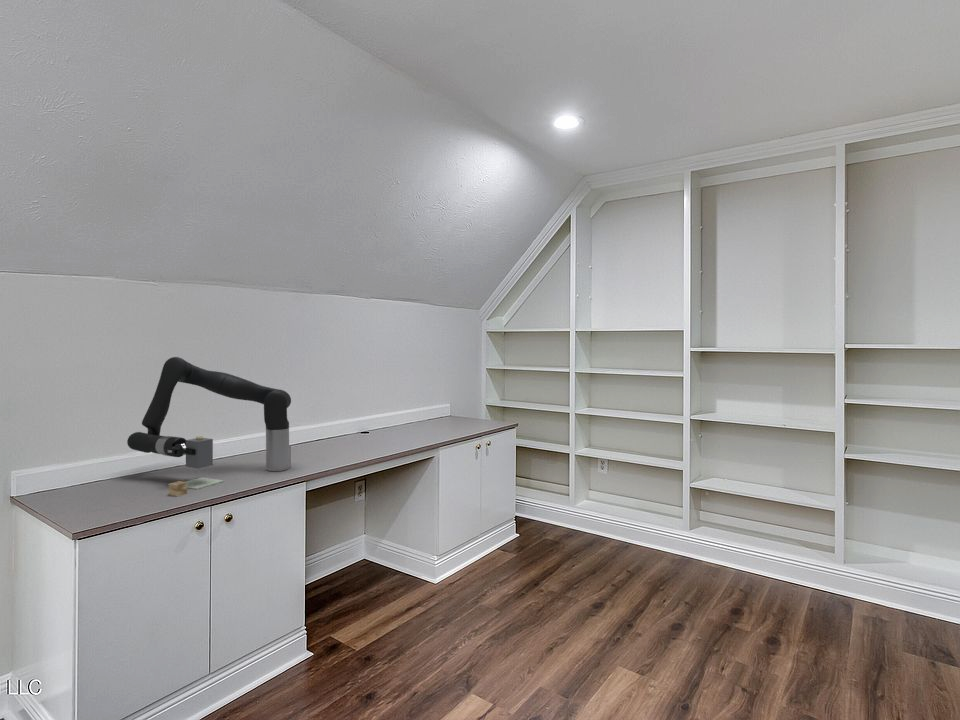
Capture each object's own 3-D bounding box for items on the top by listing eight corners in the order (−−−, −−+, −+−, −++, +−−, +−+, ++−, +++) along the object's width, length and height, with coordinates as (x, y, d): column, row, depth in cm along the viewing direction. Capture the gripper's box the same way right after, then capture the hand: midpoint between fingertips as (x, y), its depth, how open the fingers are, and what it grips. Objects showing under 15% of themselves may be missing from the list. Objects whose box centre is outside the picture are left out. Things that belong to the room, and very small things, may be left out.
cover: (200, 463, 212) (200, 434, 211) (212, 465, 209) (212, 436, 209) (185, 466, 206) (185, 437, 205) (198, 468, 203) (198, 439, 203)
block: (178, 492, 197) (178, 481, 197) (186, 493, 195) (186, 482, 195) (168, 495, 193) (168, 483, 193) (176, 496, 191) (176, 485, 191)
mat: (201, 478, 216) (201, 477, 216) (224, 481, 211) (224, 480, 211) (173, 485, 205) (173, 484, 205) (197, 489, 200) (197, 488, 200)
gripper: (154, 439, 206) (186, 443, 200) (188, 433, 220) (219, 437, 213) (154, 459, 207) (186, 464, 200) (188, 452, 220) (218, 456, 213)
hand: (202, 450), depth 207 cm, fingers closed on cover, 6 cm apart
